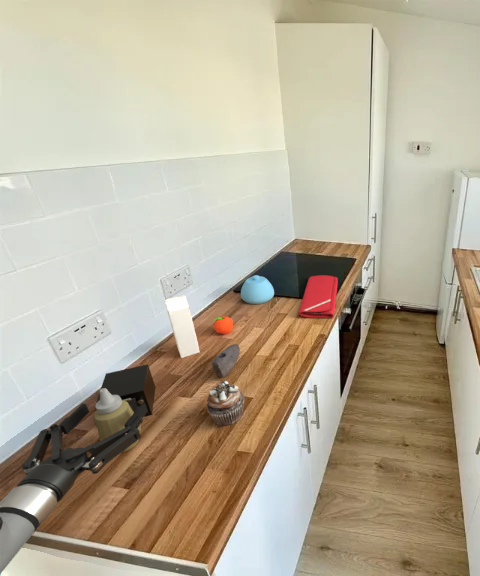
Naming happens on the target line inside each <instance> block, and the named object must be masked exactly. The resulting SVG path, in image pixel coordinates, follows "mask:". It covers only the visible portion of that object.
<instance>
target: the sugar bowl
mask: <svg viewBox="0 0 480 576" xmlns="http://www.w3.org/2000/svg"><path fill="white" fill-rule="evenodd" d="M274 296H275V289H274V286H273V285H272V283H271V282H270V281H269V280H268V279H267V278H266V277H264V276H262V275H261V276H260V275H257V274H255V275H252V276H251V277H247V279H245V281H244V283H243V285H242V287H241V289H240V299H241V300H242V301H244V302H245V303H247V304H250V305H261V304H265V303H268V302H269V301H271V300H272V299H273V297H274Z"/></svg>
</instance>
